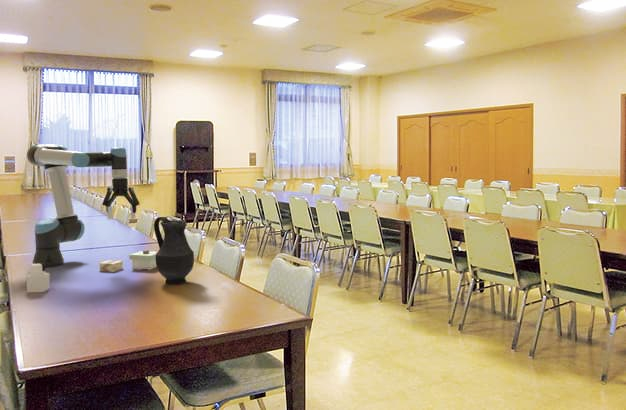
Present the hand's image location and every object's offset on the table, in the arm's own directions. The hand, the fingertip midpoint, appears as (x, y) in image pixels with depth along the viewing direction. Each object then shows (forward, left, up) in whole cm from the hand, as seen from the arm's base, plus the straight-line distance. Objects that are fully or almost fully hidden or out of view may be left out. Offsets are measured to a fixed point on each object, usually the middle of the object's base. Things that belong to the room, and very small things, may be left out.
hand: (121, 219), depth 299 cm
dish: (+12, +3, -25) cm, 28 cm away
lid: (+12, +3, -20) cm, 24 cm away
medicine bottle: (-6, -54, -25) cm, 60 cm away
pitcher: (+41, -24, -25) cm, 54 cm away
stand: (-2, -7, -25) cm, 26 cm away
